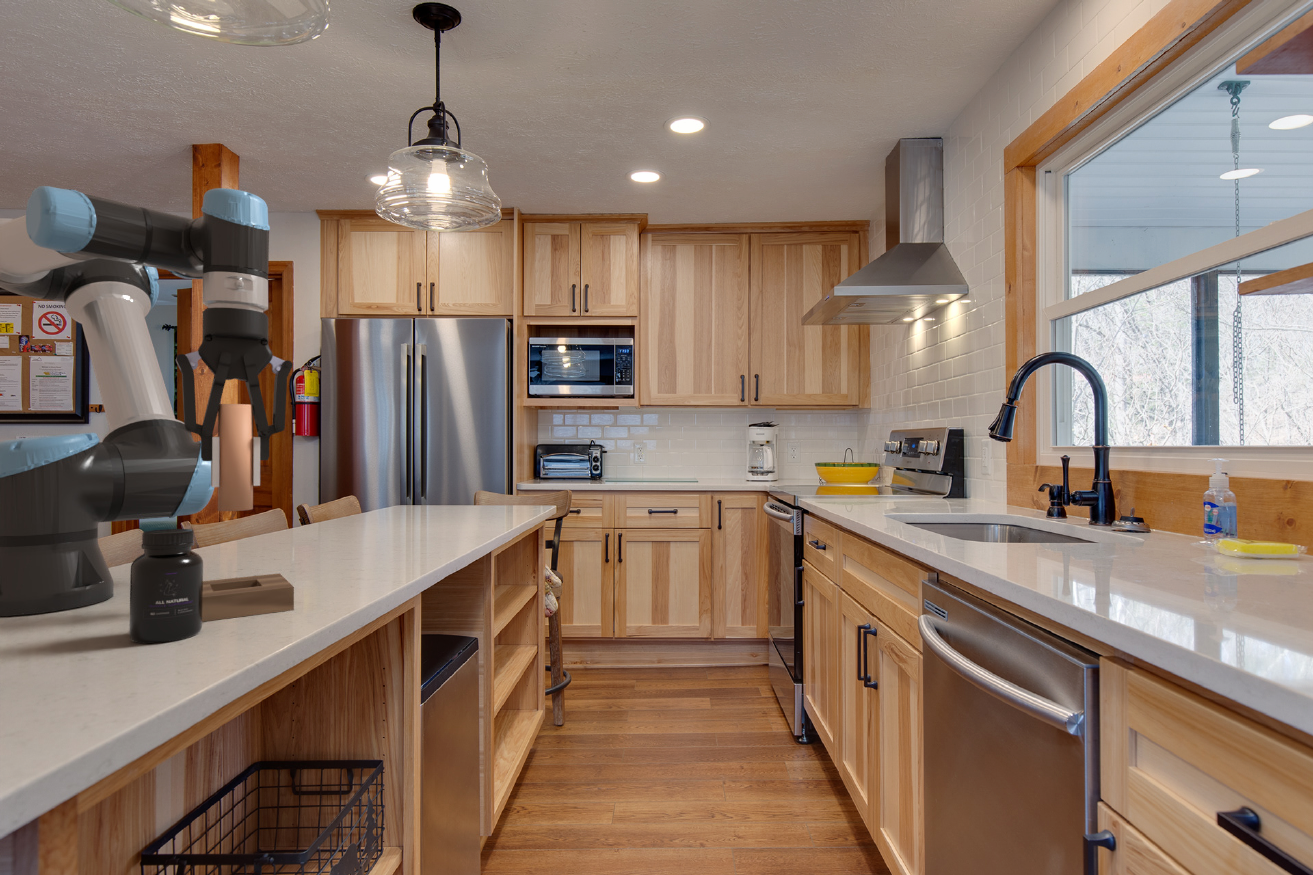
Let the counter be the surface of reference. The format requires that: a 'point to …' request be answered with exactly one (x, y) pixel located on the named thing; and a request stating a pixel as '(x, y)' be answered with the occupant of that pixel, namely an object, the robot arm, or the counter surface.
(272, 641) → the counter surface
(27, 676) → the counter surface
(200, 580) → the supplement bottle
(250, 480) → the dowel
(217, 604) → the socket block
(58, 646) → the counter surface
